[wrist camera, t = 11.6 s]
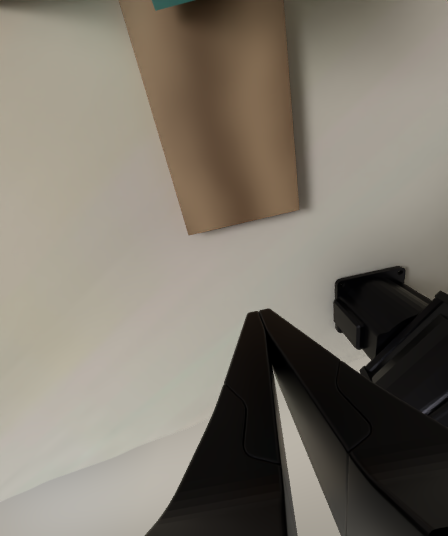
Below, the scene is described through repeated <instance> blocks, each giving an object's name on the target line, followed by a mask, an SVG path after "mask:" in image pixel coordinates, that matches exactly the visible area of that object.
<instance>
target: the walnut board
mask: <svg viewBox="0 0 448 536" xmlns="http://www.w3.org/2000/svg"><path fill="white" fill-rule="evenodd" d="M119 3H120V6H121V10H122V13H123V16H124V20H125V23H126V26H127V30H128V33H129V36H130V40H131V43H132V47H133V50H134V53H135V57H136V60H137V63H138V67H139V70H140V73H141V77H142V80H143V84H144V87H145V90H146V94H147V97H148V100H149V104H150V107H151V110H152V114H153V117H154V120H155V124H156V127H157V131H158V134H159V137H160V141H161V144H162V147H163V151H164V154H165V157H166V161H167V164H168V167H169V171H170V174H171V178H172V181H173V184H174V188H175V191H176V194H177V198H178V201H179V204H180V208H181V211H182V215H183V218H184V221H185V225H186V228H187V231H188V235H193V234H197V233H201V232H206V231H210V230H214V229H219V228H223V227H227V226H232V225H236V224H240V223H244V222H249V221H253V220H257V219H262V218H266V217H270V216H275V215H279V214H283V213H288V212H292V211H296V210H299V198H298V185H297V171H296V158H295V145H294V132H293V119H292V106H291V92H290V79H289V66H288V53H287V40H286V26H285V13H284V0H194V1H190V2H186V3H183V4H179V5H175V6H172V7H168V8H164V9H160V10H157V11H155V8H154V5H153V3H152V0H119Z"/></svg>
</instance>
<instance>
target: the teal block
mask: <svg viewBox="0 0 448 536" xmlns="http://www.w3.org/2000/svg"><path fill="white" fill-rule="evenodd" d="M190 1H194V0H152V3H153V5H154V8H155V11H157V10H160V9H164V8H168V7H172V6H175V5H179V4H183V3H186V2H190Z"/></svg>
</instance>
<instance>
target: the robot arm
mask: <svg viewBox="0 0 448 536" xmlns="http://www.w3.org/2000/svg"><path fill="white" fill-rule="evenodd" d="M398 271H399V272H398ZM404 279H405V269H404V268H402V267H400V266H396V267H392V268H387V269H383V270H378V271H373V272H369V273H364V274H359V275H355V276H350V277H346V278H341V279H338V280H337V281H336V282H335V300H334V302H333V304H334V322H335V328H336V330H337V331H338V332H339V333H344V334H345V336H346V337H347V338H348V339H349V341H350V342H351V343H352V345H353V346H354V347H355V348H356V349H358V350H360V349H362V350H363V351H364V352H365V353H366V354H367V356H368V357H369V358H370V359H371V361H370V362H369V363H368V364H367V365H366V366H363V367H362V368H361V369H360V373H361V374H360V373H358V372H357V371H355V370H354V369H353V368H351V367H350V366H348V365H347V364H346V363H344V362H343V361H340V359H339V358H337V357H336V356H334V355H333V354H332V353H330V352H329V351H328V350H326V349H325V348H323V347H322V346H321V345H319V344H318V343H317V342H315V341H314V340H312V339H311V338H310V337H308V336H307V335H305V334H304V333H303V332H301V331H300V330H299V329H297V328H296V327H294V326H293V325H292V324H290V323H289V322H287V321H286V320H285V319H283V318H282V317H281V316H279V315H278V314H276V313H275V312H274V311H272V310H271V309H264V310H260V311H259V312H258V311H254V312H250V313H248V314H247V316H246V319H245V322H244V325H243V328H242V331H241V334H240V337H239V340H238V343H237V346H236V349H235V352H234V355H233V358H232V361H231V364H230V367H229V370H228V372H227V375H226V378H225V381H224V385H223V387H222V390H221V393H220V396H219V399H218V401H217V404H216V407H215V409H214V412H213V414H212V417H211V419H210V421H209V423H208V426H207V428H206V430H205V432H204V434H203V437H202V439H201V441H200V443H199V445H198V447H197V449H196V451H195V453H194V455H193V458H192V460H191V462H190V464H189V466H188V468H187V470H186V472H185V474H184V477H183V479H182V481H181V483H180V485H179V487H178V489H177V491H176V493H175V495H174V496H173V498H172V500H171V502H170V504H169V505H168V507H167V508H166V510H165V511H164V513H163V514H162V516H161V517H160V518H159V519H158V521H157V522H156V523H155V524H154V526H153V527H152V528H151V529H150V530H149V531H148V532H147V534H146V535H145V536H297V529H296V522H295V515H294V509H293V502H292V496H291V488H290V481H289V475H288V468H287V461H286V454H285V448H284V442H283V434H282V428H281V421H280V414H279V407H278V400H277V394H276V387H275V380H274V374H275V376H276V379H277V381H278V384H279V386H280V388H281V391H282V393H283V396H284V398H285V401H286V403H287V406H288V408H289V410H290V413H291V415H292V417H293V420H294V423H295V425H296V427H297V430H298V432H299V435H300V437H301V440H302V442H303V444H304V447H305V449H306V452H307V454H308V457H309V459H310V461H311V464H312V466H313V468H314V471H315V473H316V476H317V478H318V481H319V483H320V486H321V488H322V491H323V493H324V495H325V498H326V500H327V503H328V505H329V508H330V510H331V512H332V515H333V517H334V520H335V522H336V524H337V527H338V530H339V532H340V534H341V536H448V294H446V293H444V292H442V291H439V292H438V293H437V294H436V295H435V298H434V299H433V300H430V299H428V298H427V297H425V296H423V295H422V294H420V293H418V292H417V291H415V290H414V289H412V288H410V287H409V286H407V285H405V284H404ZM341 283H343V284H342V285H340V284H341ZM272 368H273V369H272ZM273 371H274V374H273Z"/></svg>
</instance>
